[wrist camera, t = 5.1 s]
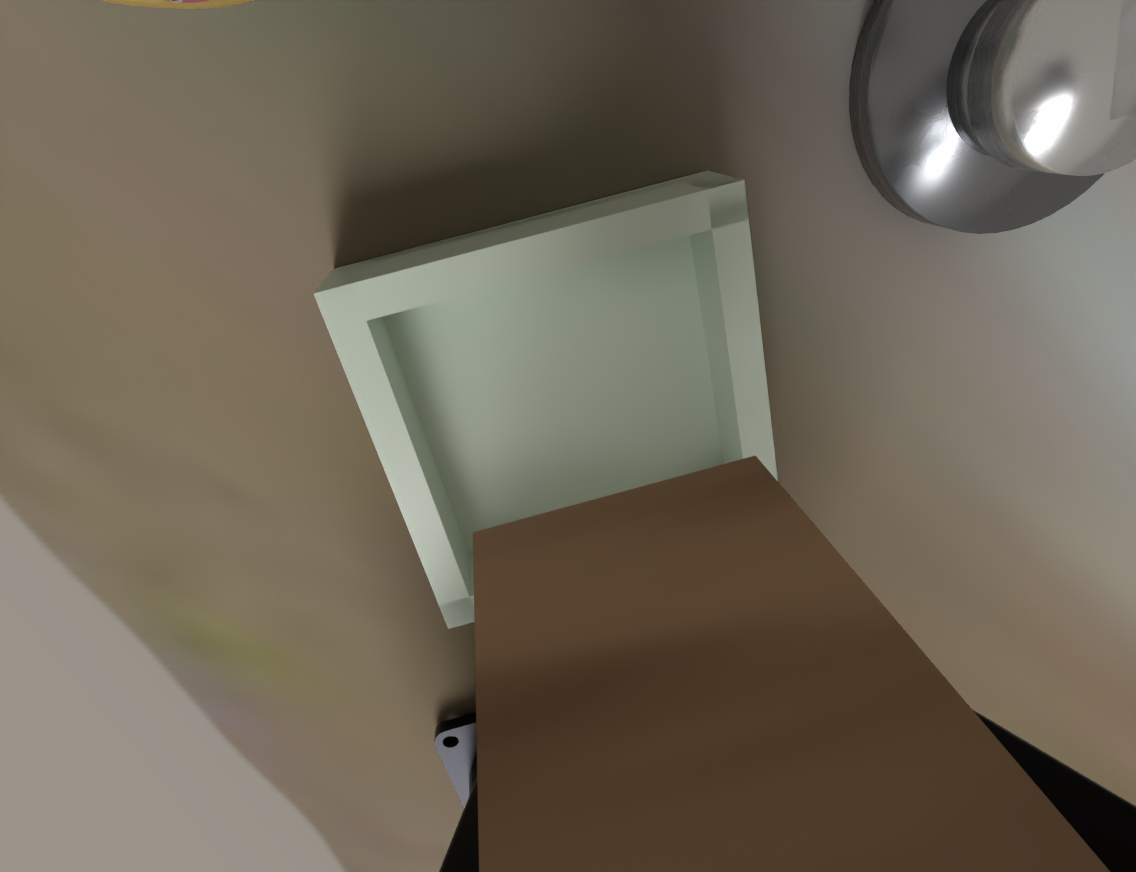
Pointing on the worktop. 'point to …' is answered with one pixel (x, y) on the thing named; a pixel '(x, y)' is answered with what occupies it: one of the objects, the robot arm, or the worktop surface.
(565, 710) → the stop block
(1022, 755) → the robot arm
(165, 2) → the cupcake
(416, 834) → the worktop surface
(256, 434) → the worktop surface
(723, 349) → the tray
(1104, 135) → the crank
